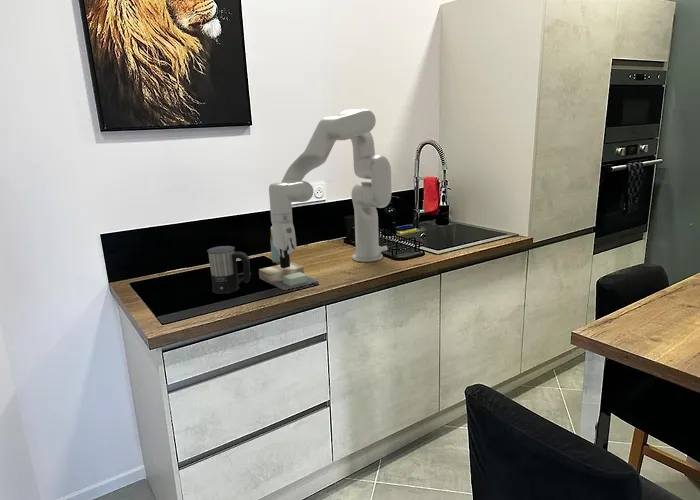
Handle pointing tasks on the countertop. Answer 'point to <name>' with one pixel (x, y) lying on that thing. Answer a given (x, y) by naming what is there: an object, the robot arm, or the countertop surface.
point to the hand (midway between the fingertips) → (285, 267)
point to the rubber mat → (286, 287)
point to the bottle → (274, 252)
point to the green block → (295, 279)
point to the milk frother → (227, 269)
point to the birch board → (279, 272)
